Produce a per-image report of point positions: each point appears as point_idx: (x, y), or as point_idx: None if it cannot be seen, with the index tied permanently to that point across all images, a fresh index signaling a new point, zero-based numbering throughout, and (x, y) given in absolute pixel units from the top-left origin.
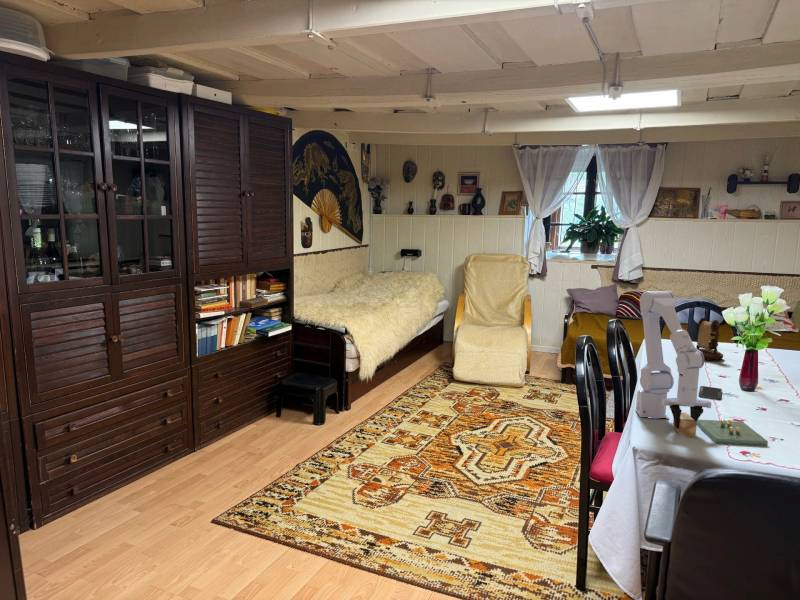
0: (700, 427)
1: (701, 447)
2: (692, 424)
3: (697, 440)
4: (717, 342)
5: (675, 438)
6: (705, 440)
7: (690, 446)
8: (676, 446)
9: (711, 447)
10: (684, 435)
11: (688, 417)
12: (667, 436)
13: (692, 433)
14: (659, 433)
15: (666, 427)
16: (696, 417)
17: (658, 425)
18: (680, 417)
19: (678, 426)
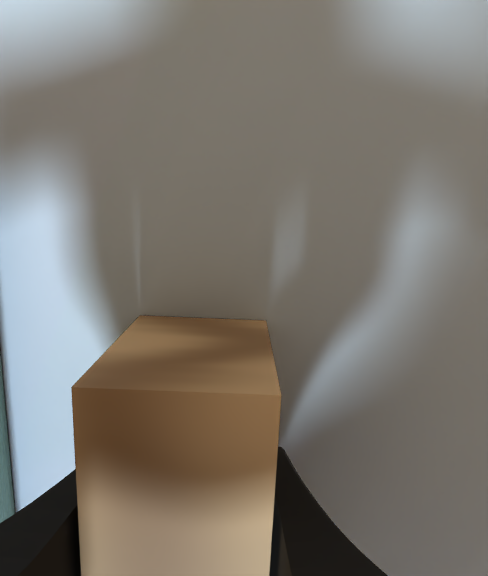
0: None
1: (179, 23)
2: (146, 373)
3: (149, 232)
4: None
5: (356, 261)
6: (67, 241)
7: (291, 40)
8: (449, 21)
9: (68, 38)
10: (245, 323)
11: (130, 574)
12: (414, 307)
13: (163, 329)
14: (458, 377)
15: None
16: (20, 534)
17: None
18: (254, 561)
19: None
